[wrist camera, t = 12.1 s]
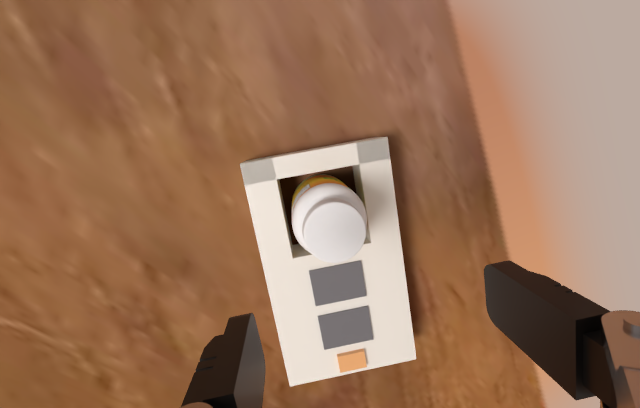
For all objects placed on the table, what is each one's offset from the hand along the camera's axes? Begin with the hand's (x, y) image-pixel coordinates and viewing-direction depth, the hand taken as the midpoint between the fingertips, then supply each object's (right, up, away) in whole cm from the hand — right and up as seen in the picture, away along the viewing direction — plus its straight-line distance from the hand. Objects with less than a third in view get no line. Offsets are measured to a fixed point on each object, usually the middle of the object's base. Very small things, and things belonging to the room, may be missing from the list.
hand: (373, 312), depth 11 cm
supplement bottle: (-2, +4, +19) cm, 20 cm away
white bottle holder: (-1, -1, +20) cm, 20 cm away
